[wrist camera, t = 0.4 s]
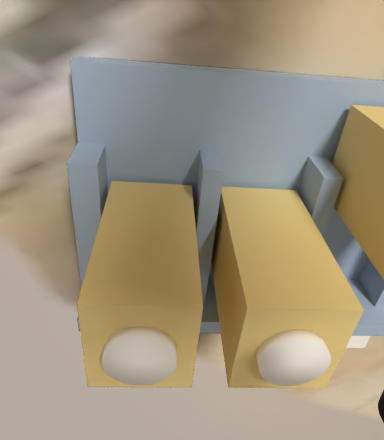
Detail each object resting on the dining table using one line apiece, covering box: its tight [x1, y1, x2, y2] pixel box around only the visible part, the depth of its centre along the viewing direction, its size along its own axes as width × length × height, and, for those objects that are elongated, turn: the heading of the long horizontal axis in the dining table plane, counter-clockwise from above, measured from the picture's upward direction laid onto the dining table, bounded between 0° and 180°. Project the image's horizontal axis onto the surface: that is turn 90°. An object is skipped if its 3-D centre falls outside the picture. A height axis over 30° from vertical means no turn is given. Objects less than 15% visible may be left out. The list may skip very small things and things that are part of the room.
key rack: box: [67, 56, 384, 336], centre depth 20 cm, size 14×20×5 cm
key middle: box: [211, 187, 364, 388], centre depth 18 cm, size 5×4×10 cm
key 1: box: [77, 181, 203, 387], centre depth 18 cm, size 5×4×10 cm
